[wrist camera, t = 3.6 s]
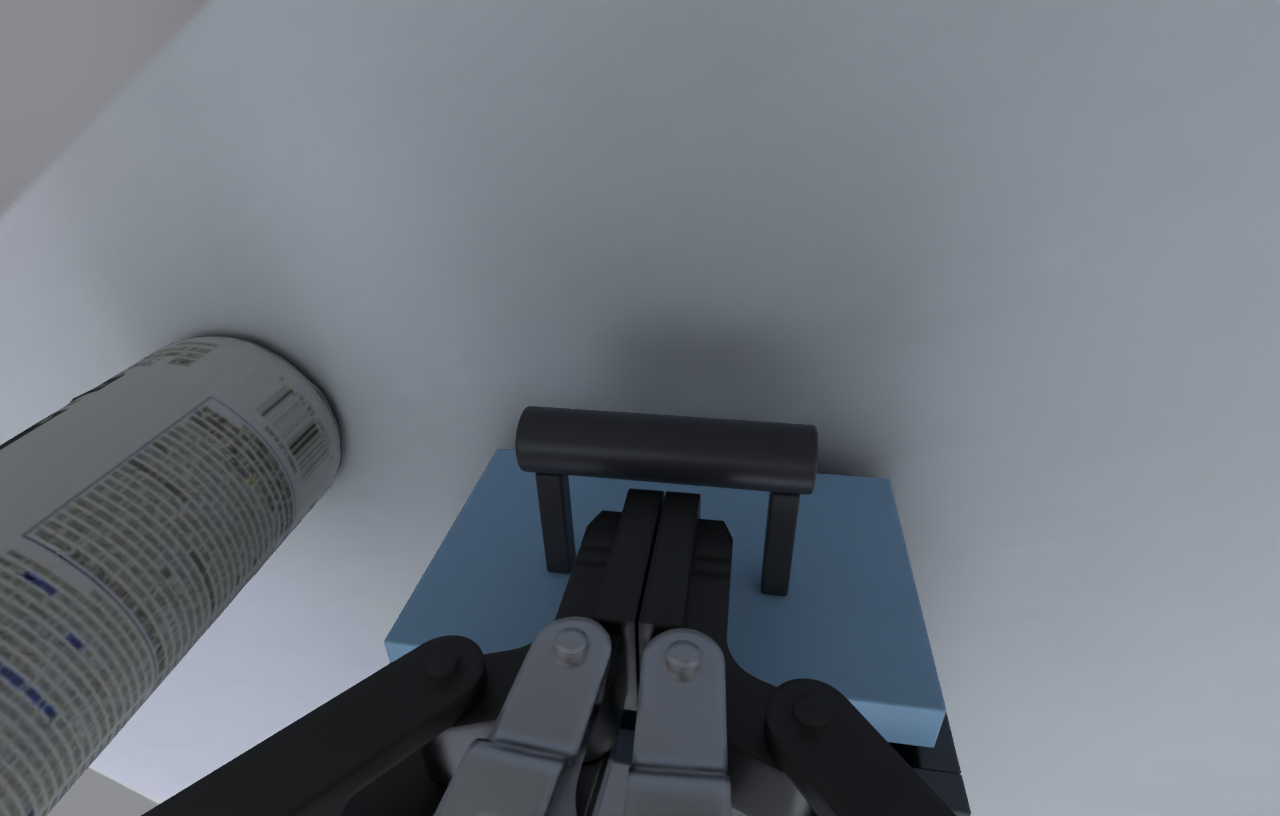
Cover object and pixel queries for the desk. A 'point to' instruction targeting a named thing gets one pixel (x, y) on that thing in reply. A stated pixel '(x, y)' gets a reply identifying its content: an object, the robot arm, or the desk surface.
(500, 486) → the blue drawer
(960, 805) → the dark grey open box
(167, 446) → the spray can
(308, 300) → the desk surface
